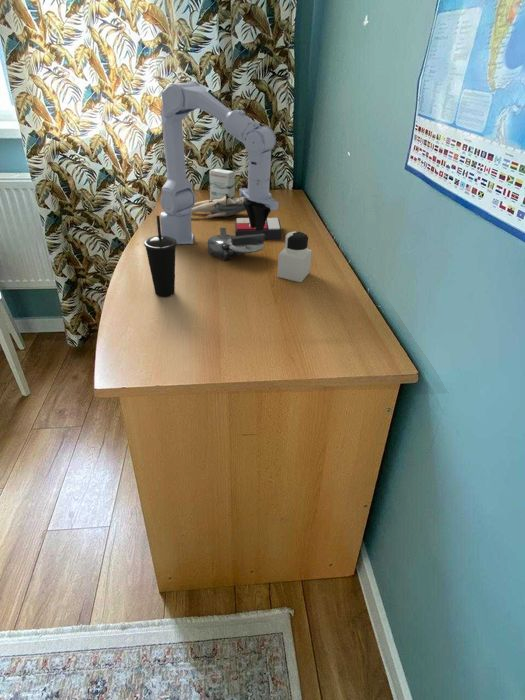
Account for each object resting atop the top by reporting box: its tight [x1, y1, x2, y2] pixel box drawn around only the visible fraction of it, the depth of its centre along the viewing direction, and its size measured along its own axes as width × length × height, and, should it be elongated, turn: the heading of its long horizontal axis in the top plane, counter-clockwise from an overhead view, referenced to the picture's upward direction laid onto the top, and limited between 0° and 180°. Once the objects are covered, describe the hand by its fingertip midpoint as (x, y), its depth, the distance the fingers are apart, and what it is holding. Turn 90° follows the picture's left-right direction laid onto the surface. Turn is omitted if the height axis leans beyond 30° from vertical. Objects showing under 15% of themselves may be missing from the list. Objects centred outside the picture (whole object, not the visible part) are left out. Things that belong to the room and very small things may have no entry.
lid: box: [221, 233, 266, 254], centre depth 133 cm, size 13×11×3 cm
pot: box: [207, 227, 242, 262], centre depth 140 cm, size 10×18×4 cm, turn 7°
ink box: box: [208, 168, 236, 200], centre depth 174 cm, size 9×5×12 cm, turn 66°
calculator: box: [234, 217, 283, 241], centre depth 152 cm, size 11×4×15 cm
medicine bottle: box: [277, 231, 313, 283], centre depth 124 cm, size 7×7×12 cm
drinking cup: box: [143, 214, 178, 298], centre depth 110 cm, size 8×8×20 cm
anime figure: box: [191, 194, 248, 219], centre depth 163 cm, size 10×7×30 cm
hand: (257, 228), depth 127 cm, fingers closed
